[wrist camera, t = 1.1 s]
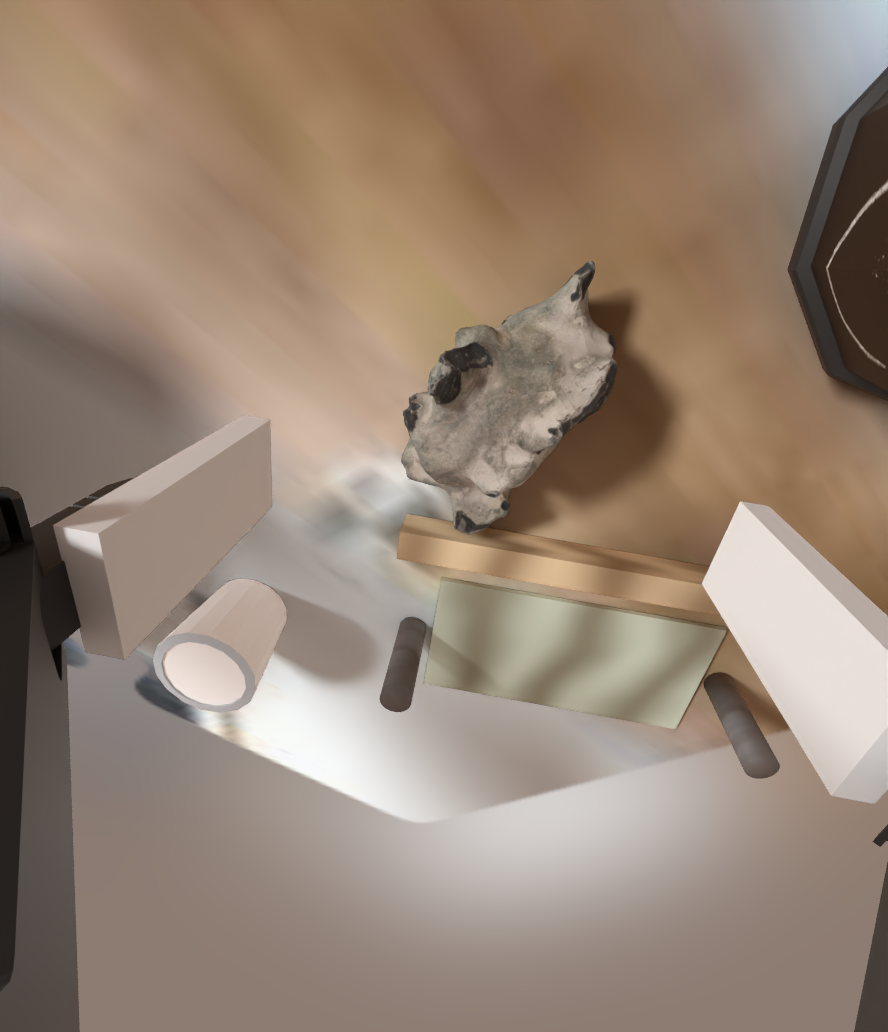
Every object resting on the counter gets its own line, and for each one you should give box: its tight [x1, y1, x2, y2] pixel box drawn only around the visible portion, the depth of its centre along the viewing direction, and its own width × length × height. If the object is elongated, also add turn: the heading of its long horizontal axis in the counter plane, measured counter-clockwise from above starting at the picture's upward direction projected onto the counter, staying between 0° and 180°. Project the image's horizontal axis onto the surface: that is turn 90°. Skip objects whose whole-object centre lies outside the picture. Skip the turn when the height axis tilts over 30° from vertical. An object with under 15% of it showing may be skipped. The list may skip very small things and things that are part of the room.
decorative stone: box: [401, 261, 617, 535], centre depth 25 cm, size 16×9×10 cm, turn 158°
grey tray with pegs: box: [380, 514, 780, 778], centre depth 33 cm, size 26×14×7 cm, turn 82°
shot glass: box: [153, 578, 287, 712], centre depth 35 cm, size 7×7×7 cm
